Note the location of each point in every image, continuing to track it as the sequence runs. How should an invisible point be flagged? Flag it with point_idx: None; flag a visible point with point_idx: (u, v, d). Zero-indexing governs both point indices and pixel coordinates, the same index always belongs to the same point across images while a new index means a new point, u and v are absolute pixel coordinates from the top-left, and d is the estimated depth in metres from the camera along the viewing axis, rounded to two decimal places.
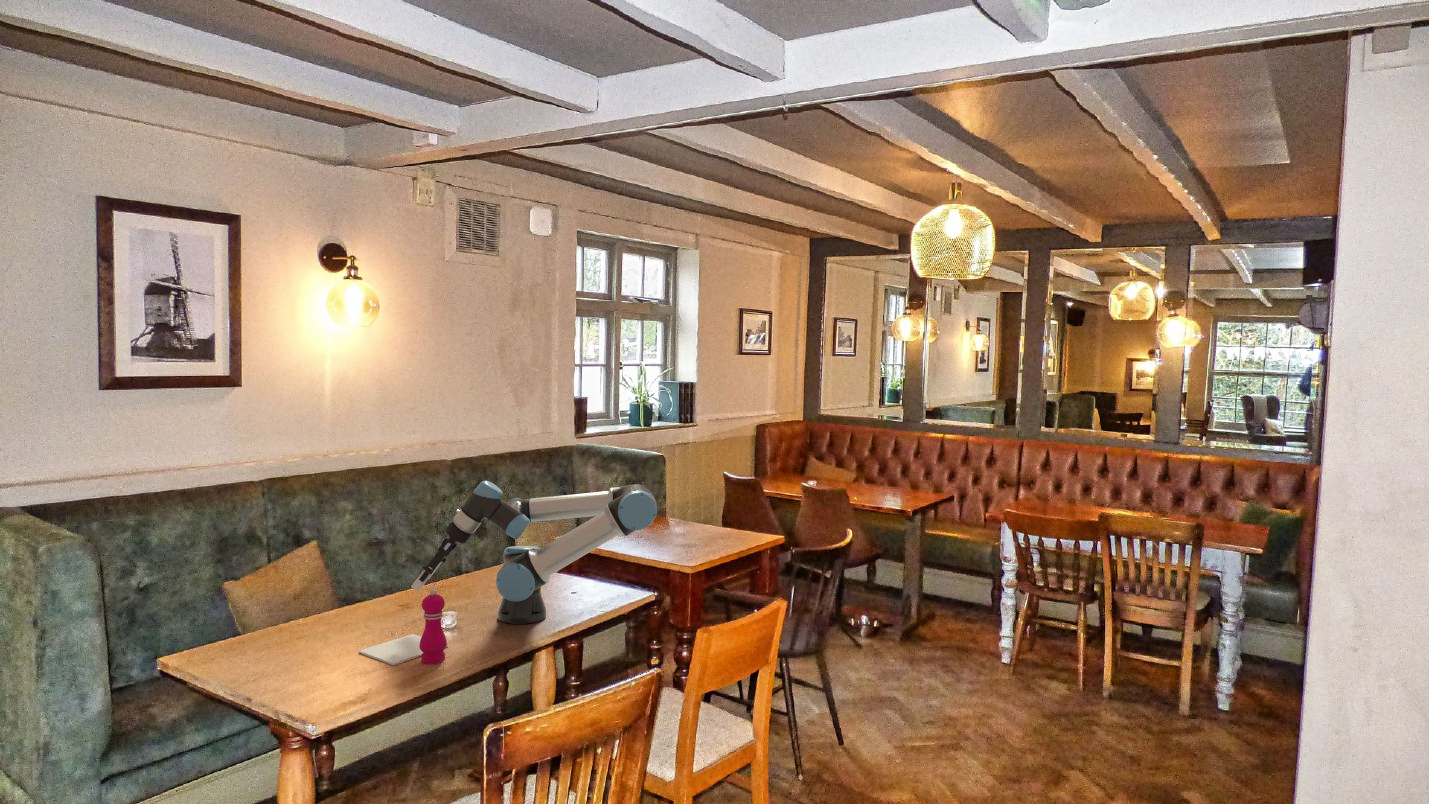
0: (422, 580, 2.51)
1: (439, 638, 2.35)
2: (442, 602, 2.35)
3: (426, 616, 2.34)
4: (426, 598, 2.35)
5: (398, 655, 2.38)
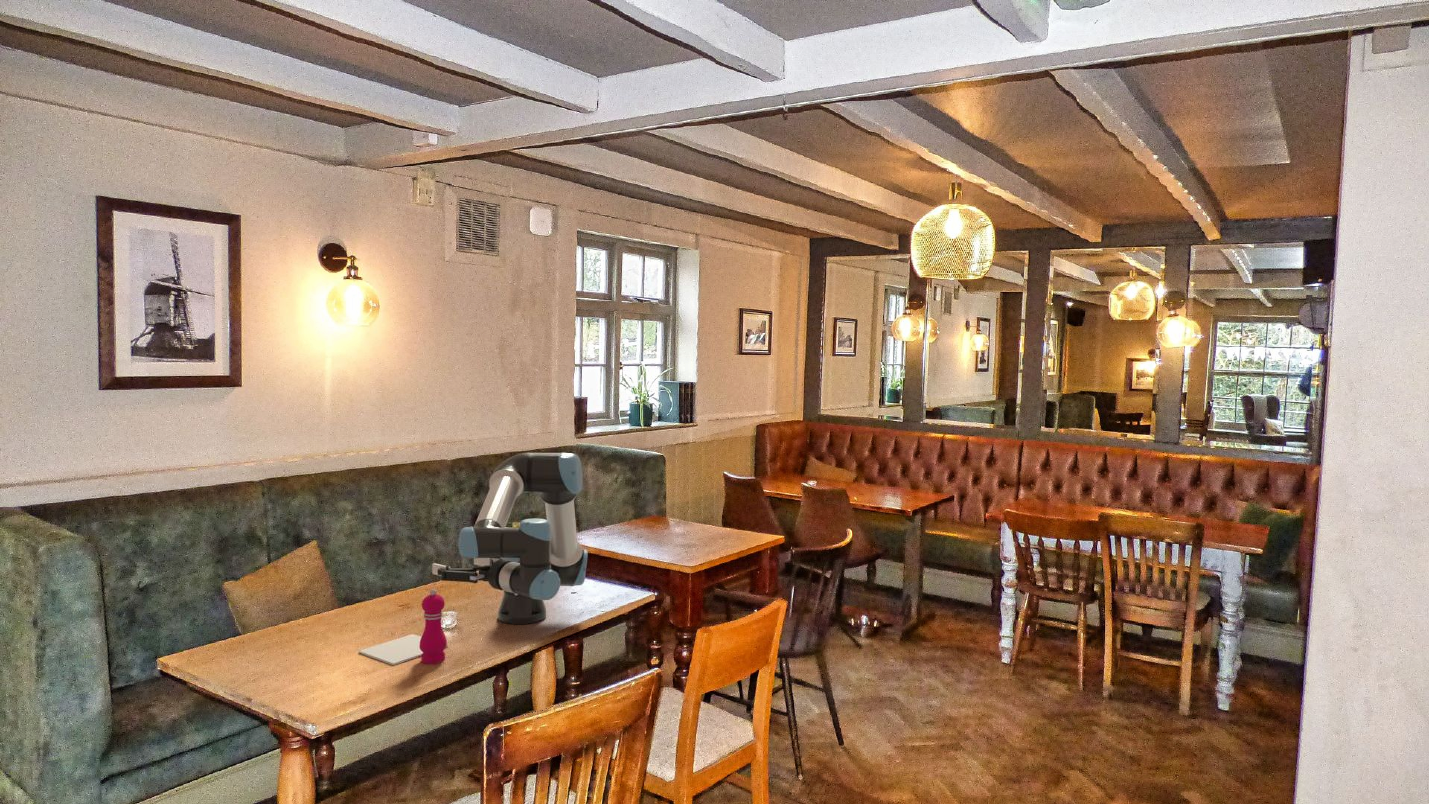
0: None
1: (439, 638, 2.35)
2: (442, 602, 2.35)
3: (426, 616, 2.34)
4: (426, 598, 2.35)
5: (398, 655, 2.38)
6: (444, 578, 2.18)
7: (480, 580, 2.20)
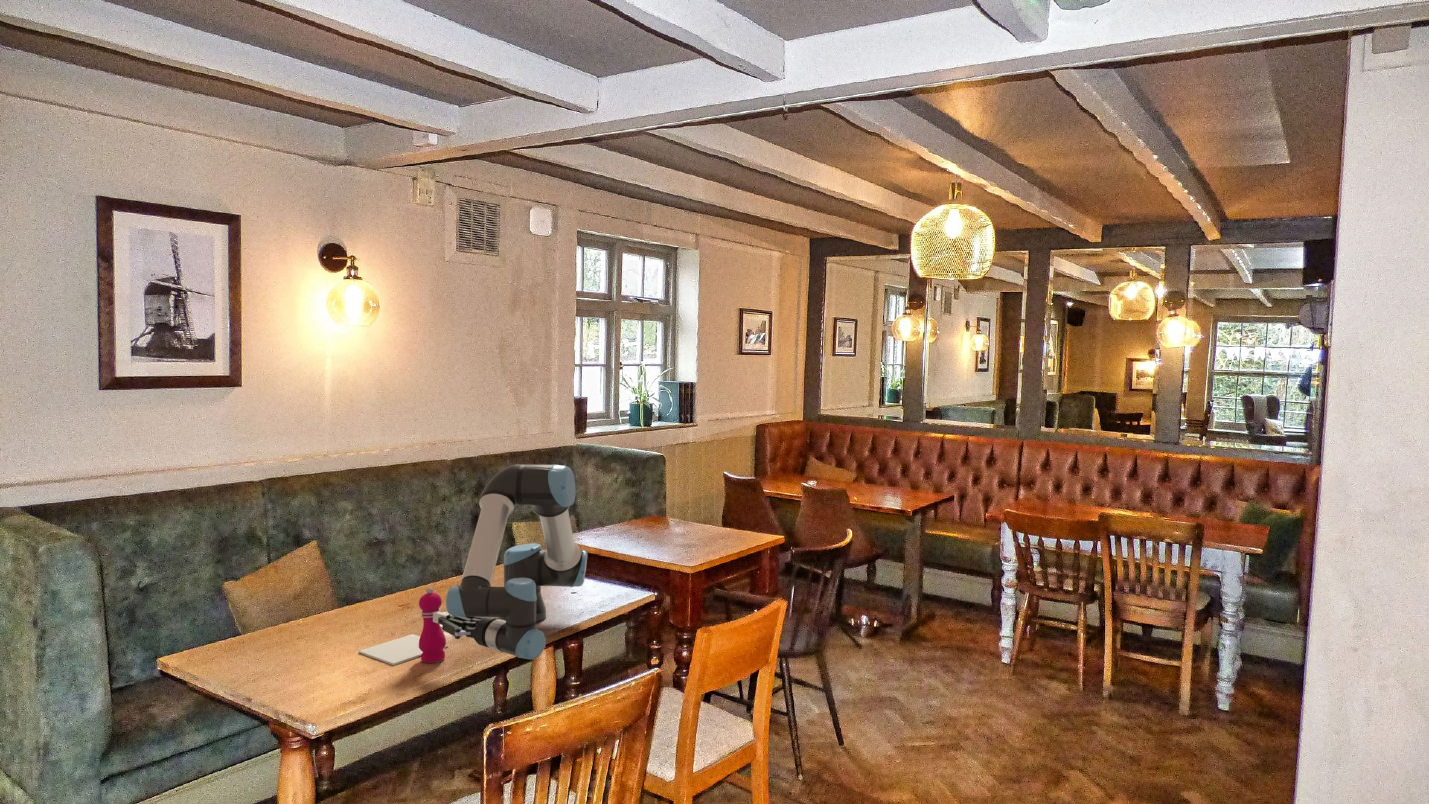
0: None
1: (437, 636, 2.35)
2: (439, 600, 2.36)
3: (424, 615, 2.35)
4: (423, 597, 2.35)
5: (398, 655, 2.38)
6: (443, 628, 2.27)
7: None
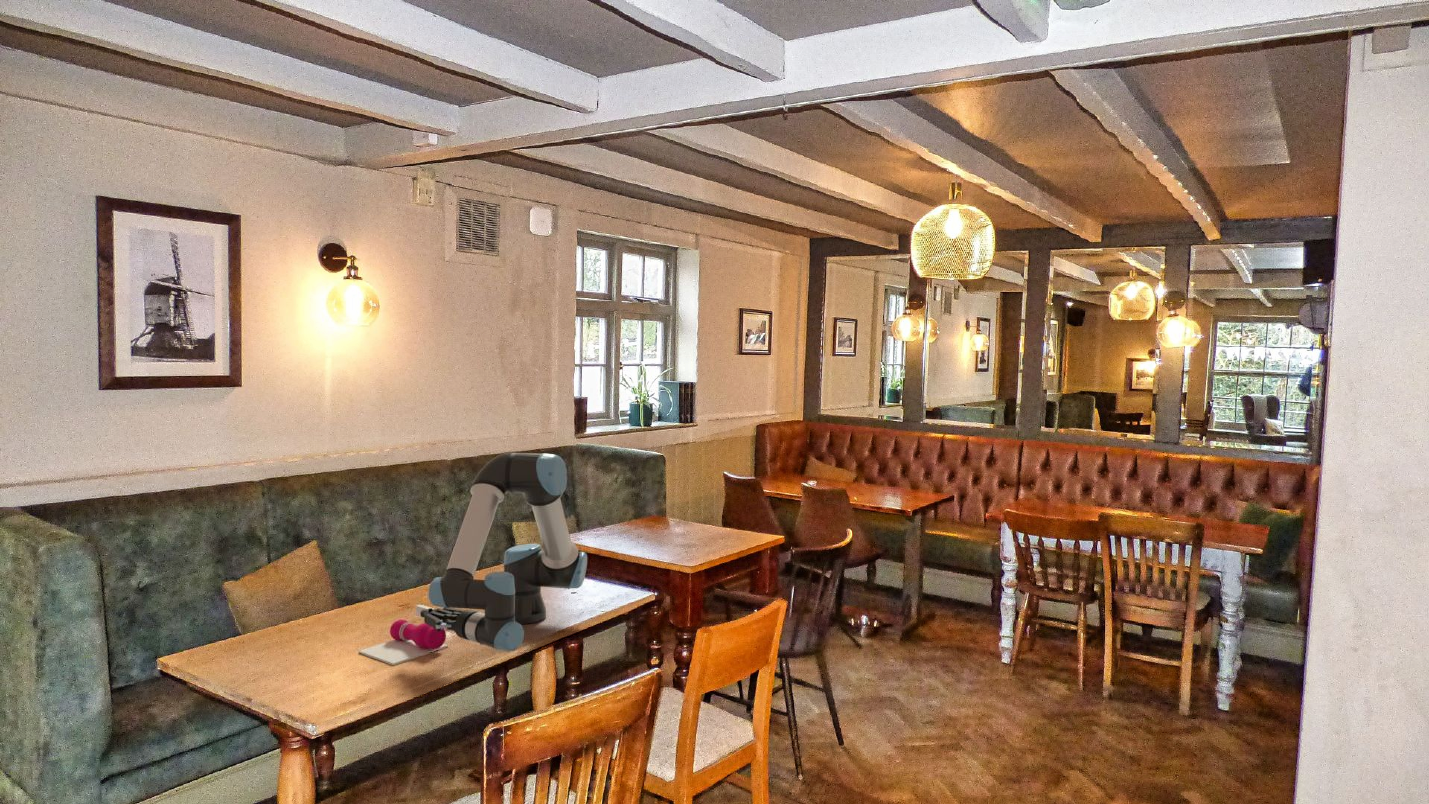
0: None
1: None
2: None
3: (404, 624, 2.48)
4: None
5: (398, 655, 2.38)
6: (425, 620, 2.32)
7: None
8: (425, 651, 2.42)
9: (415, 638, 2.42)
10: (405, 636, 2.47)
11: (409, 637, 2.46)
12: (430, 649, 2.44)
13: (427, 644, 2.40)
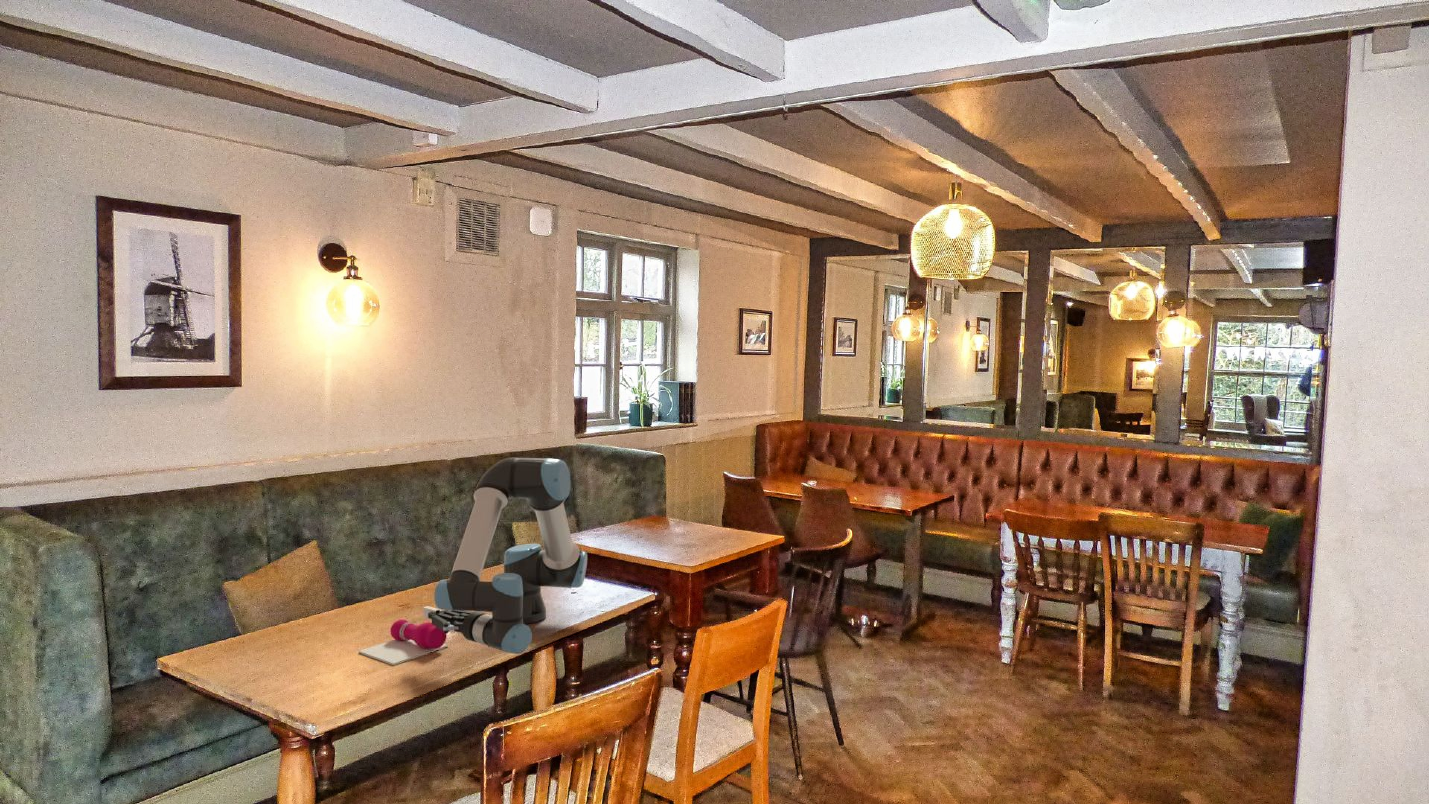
0: None
1: None
2: None
3: (405, 624, 2.49)
4: None
5: (398, 655, 2.38)
6: (432, 622, 2.30)
7: None
8: (425, 651, 2.42)
9: (416, 637, 2.42)
10: (405, 635, 2.47)
11: (409, 636, 2.46)
12: (430, 649, 2.44)
13: (427, 643, 2.41)
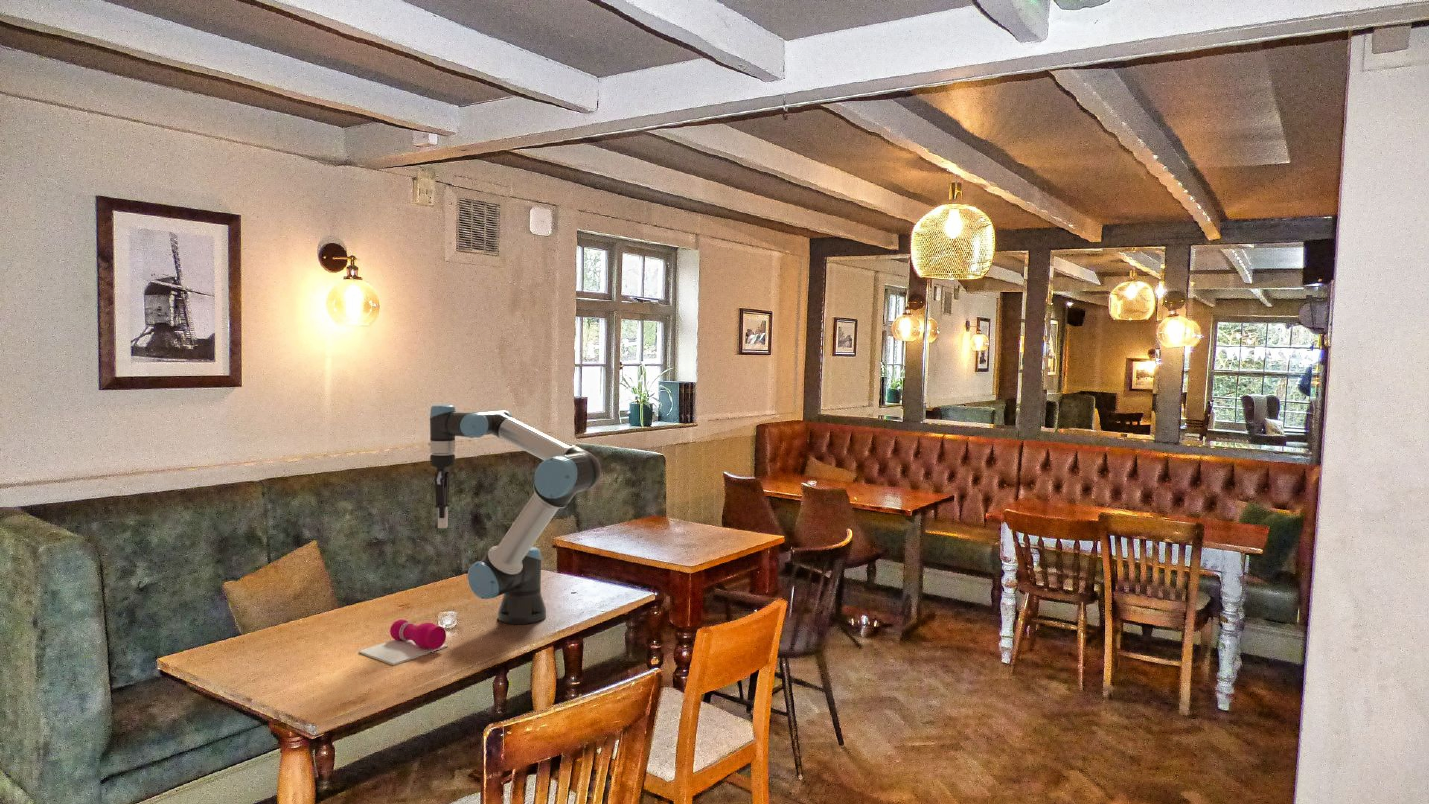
0: (442, 516, 2.70)
1: None
2: None
3: (404, 624, 2.48)
4: None
5: (398, 655, 2.38)
6: None
7: None
8: (425, 651, 2.42)
9: (415, 638, 2.42)
10: (405, 636, 2.47)
11: (409, 637, 2.46)
12: (430, 649, 2.44)
13: (427, 644, 2.40)
